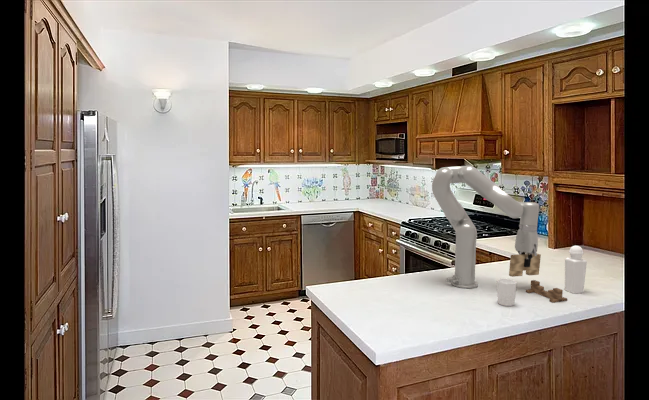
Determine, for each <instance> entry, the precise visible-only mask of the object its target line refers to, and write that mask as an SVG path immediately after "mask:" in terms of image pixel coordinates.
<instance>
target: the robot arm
mask: <svg viewBox="0 0 649 400" xmlns="http://www.w3.org/2000/svg"><path fill="white" fill-rule="evenodd" d="M461 183H462V184H463V183H465V184H466V185H467V186H468V187H470V188H471V189H472V190H473V191H474V192H476V193H477V194H479V195H480V196H481V197H482V198H484V199H485V200H486V201H488V202H490V203H492V204H493V205H494V206H495V207H496V208H498V209H499V210H500V211H502V212H503V213H504V214H505V215H506V216H508V217H509V218H512V219H519V218H520V220H519V224H518V227H519V229H518V230H517V232H516V237H515V243H514V249H515V251H516V252H517V253H518V255H519V254H526V259H525V261H524V267H530V263H531V259H532V257H534V256H537V254H538V246H539V241H538V240H539V236H538V235H539V234H538V220H539V219H538V218H539V213H540V212H539V210H540V205H539V204H538V203H537V202H533V201H532V202H531V201H525V202H524V201H523V202H522V201H517V200H516V199H515V198H514V197H512V196H511V195H509V193H507V192H506V191H504V190H503V189H502V188H501V187H500V186H499V185H498V184H497V183H495V181H493V180H491V179H490V178H489V177H487V176H486V175H485V174H484V173H482V172H481V171H480V170H479V169H477V168H476V167H474V166H473V165H461V166H445V167H440V168H439V169H437V171H436V173H435V175H434V176H433V179H432V183H431V191H432V194H433V196H434V198H435V200H436V202H437V203H438V205H439V207H440V209H441V210H442V212H443V214H444V216H445V218H446V219H447V220H448V223H450V225H451V227H452V228H453V230H454V231H455V250H454V253H455V254H454V255H455V257H454V258H455V260H454V274H453V275H452V277H446V278H445V281H446V282H447V283H451V285H452V286H454V287H457V288H463V289H474V288H478V286H479V283H478V282H477V281H476V280H475V279H476V255H477V253H476V251H477V250H476V249H477V241H478V239H477V238H478V233H477V231H478V230H477V227H476V226H475V224H474V222H473V221H472V219H471V218H470V217H469V215H468V214H467V212H466V210H465V209H464V207H463V206H462V204H461V203H460V202H459V201H458V200H457V198H456V196H455V193H453V192H452V189H451V184H461ZM529 254H530V255H529Z"/></svg>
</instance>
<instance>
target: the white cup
mask: <svg viewBox="0 0 649 400" xmlns="http://www.w3.org/2000/svg"><path fill="white" fill-rule="evenodd" d="M517 283H518V282H517V281H516V280H514V279H512V278H498V279H497V280H496V291H497V294H496V296H497V304H499V305H501V306H505V307H513V306H514V305H515V303H516V302H515V301H516V300H515V299H516V294H517V285H518V284H517Z"/></svg>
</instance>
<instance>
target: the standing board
mask: <svg viewBox="0 0 649 400" xmlns="http://www.w3.org/2000/svg"><path fill="white" fill-rule="evenodd" d="M563 292H564V290H563V289H561V288H558V287H555V288H552V289H548V290H545V287H544V286H543V285H541V281H538V280H536V279H533V280H530V289H525V293H527V294H533V293H534V294H537V295H539V296H542V297H545V298H547V299H549V300H548V301H549V302H550V303H554V304H555V303H560V302H567V301H568V298H567V297H564V296H563V294H564V293H563Z"/></svg>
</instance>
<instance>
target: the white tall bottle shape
mask: <svg viewBox="0 0 649 400" xmlns="http://www.w3.org/2000/svg"><path fill="white" fill-rule="evenodd" d="M568 253H569V255H570V257H566V258H565V259H564V290H565V291H566V292H569V293H570V294H584V290H585V281H586V272H587V264H588V261H587V260H586V259H583V257H582V256H583V255H584V250H583V248H582V247H581V246H580V245H572V246H571V247H569V251H568Z"/></svg>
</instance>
